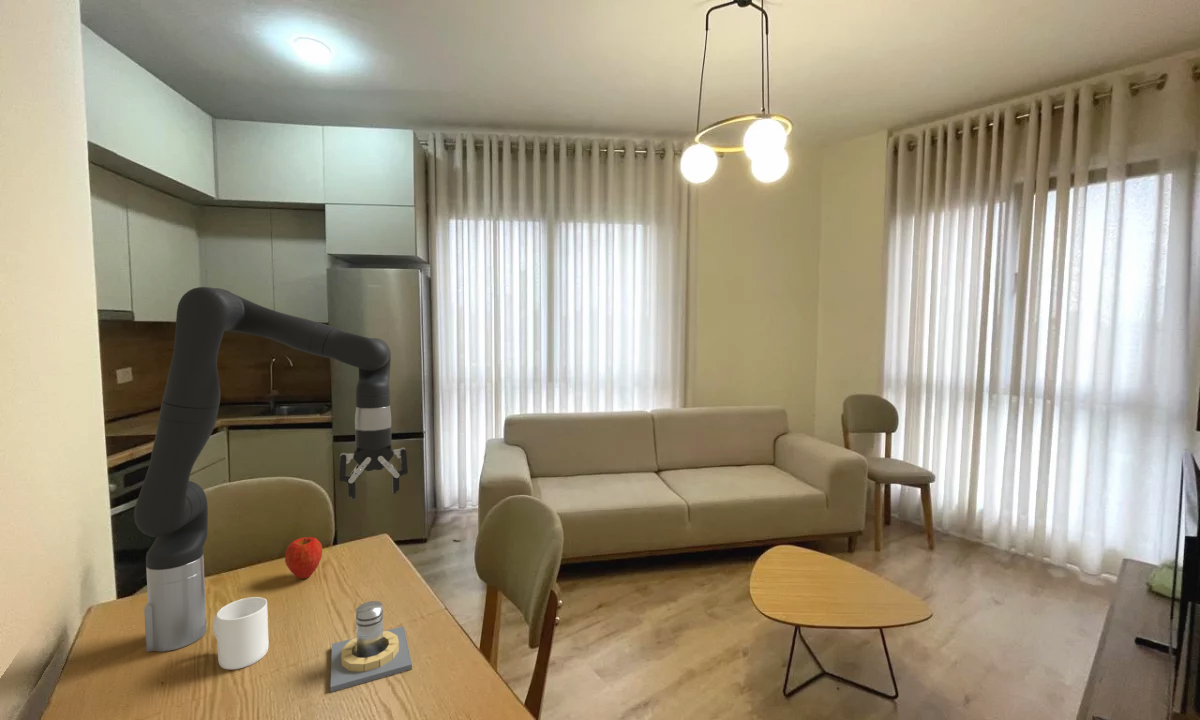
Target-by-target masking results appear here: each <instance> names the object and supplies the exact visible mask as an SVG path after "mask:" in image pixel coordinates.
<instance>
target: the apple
mask: <svg viewBox="0 0 1200 720" xmlns="http://www.w3.org/2000/svg"><path fill="white" fill-rule="evenodd" d="M284 555H285V556H284V562H285V565H286V567H287V568H288V570H289V571H290V573H292V574H293V575H294V576H295V577H296V578H297V579H300V580H303V579H308V578H310V577H311V576H312V575H313V574H314V572H315V571H316V569H317V568H318V566H319V565H320V562H321V559H322V557H323V546H322V543H321V542H320V541H319V540H318V539H317V538H316V537H313V536H307V537H300V538H297V539H296V540H293V541H292V542H291V543H289V545H288V546H287V548H286V550H285V554H284Z"/></svg>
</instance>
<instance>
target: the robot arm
mask: <svg viewBox="0 0 1200 720" xmlns="http://www.w3.org/2000/svg"><path fill="white" fill-rule="evenodd" d="M225 332H232V333H233V332H234V333H242V334H249V335H253V336H257V337H258V336H259V337H263V338H265V339H269V340H272V341H275V342H278V343H279V344H282V345H284V346H286V347H288V348H292V349H294V350H298V351H301V352H305V353H306V354H307V353H308V354H311V355H315V356H318V357H323V358H325V359H326V358H327V359H333V360H336V361H339V362H341V363H344V364H346V365H349V366H352V367H355V368H357V369H358V381H357V384H356V389H355V415H354V428H355V429H354V431H355V449H354V453H346V452H341V453H340V455H339V469H338V471H339V472H338V480H339V481H340V482H344V483H345V482H346V483H347V487H348V490H347V491H348V492H347V493H348V496H349V498H351V500H355V499H356V480H357V478H358V477H359V476H360V475H361V474H362V473H363V472H364V471H366V472H371V471H374V470H375V471H380V470H381V471H383V469H384V468H385V469H386V470H387V471H388V473H390V474H391V475H392V476H391V477H392V478H391V486H392V487H391V490H392V491H391V492H392V494H393V495H396V494H397V492H399V491H400V477H402V476H403V475H404V476H405V475H407V474H408V470H409V469H408V457H407V456H408V455H407V450H406V448H405V447H404V446H402V447H400V448H398V449H397V448H396V449H393V447H392V414H391V413H392V412H391V411H392V410H391V402H390V401H391V397H390V395H391V391H390V374H391V373H390V372H391V363H392V362H391V357H392V356H391V355H392V353H391V349H390V347H389V344H388V343H386V341H384V340H383V339H381V338H377V337H366V336H362V335H360V334H359V335H358V334H355V333H351V332H347V331H345V330H344V329H342V328H339V327H336V326H332V325H329V324H325V323H321V322H318V321H314V320H311V319H307V318H303V317H299V316H295V315H291V314H287V313H283V312H279V311H276V310H273V309H270V308H268V307H265V306H262V305H260V304H258V303H255V302H252V301H250V300H248V299H246V298H244V297H242V296H240V295H237V294H235V293H233V292H231V291H230V290H226V289H224V288H219V287H211V286H209V287H207V286H202V287H201V286H199V287H195V288H192V289H189V290H188V291H187V292H185V293H184V294H183V295H182V297H181V298H180V299H179V301H178V304H177V309H176V318H175V333H174V344H173V345H174V346H173V353H172V354H173V355H172V357H171V358H172V359H171V361H170V362H171V363H170V366H169V371H168V374H167V380H166V385H165V388H164V393H163V397H162V401H161V405H160V411H159V415H158V416H159V417H158V422H157V429H156V432H155V437H154V442H153V445H152V449H151V450H152V451H151V454H150V462H149V465H148V468H147V472H146V474H145V478H144V480H143V483H142V487H141V489H140V492H139V494H138V497H137V499H136V500H137V501H136V504H135V506H134V511H133V513H134V514H133V517H134V522H135V525H136V526H137V528H138V530H139V531H140V532H141V533H142V534H144V535H145V536H148V537H151V538H152V537H154V538H155V539H154V542H153V543H152V545H151V546H150V547H149V549H148V551H147V552H146V555H145V566H146V567H145V568H146V582H147V583H146V584H147V585H146V586H147V587H146V588H147V602H146V604H145V606H144V608H143V609H144V611H143V612H144V630H145V632H144V633H145V649H146V650H145V651H146V652H148V653H149V652H153V651H154V652H169V651H174V650H178V649H181V648H184V647H186V646H187V647H188V646H189V645H191V644H193V643H195V642H196V641H199V640H200V639H201V638H202V637H204V635H205V634H206V633H207V630H208V629H207V608H206V607H207V606H206V589H205V588H206V587H205V586H206V585H205V582H206V581H205V564H204V563H205V562H204V561H205V559H204V548H205V547H204V546H205V543H206V541H207V538H208V521H209V519H208V518H209V517H208V514H209V513H208V512H209V511H208V510H209V509H208V507H209V506H208V499H207V494H206V492H205V491H204V489H203V488H202V487H201V486H200V485H199V484H198V483H196V482H194V481H192V480H190V476H191V473H192V470H193V467H194V465H195V463H196V462H197V459H198V458H199V456H200V454H201V452H202V451H203V449H204V448H205V446H206V444H207V442H208V441H209V439H210V437H211V435H212V434H213V431H214V429H215V425H216V422H217V418H218V414H219V408H220V402H221V385H220V384H221V383H220V378H219V373H218V372H219V371H218V370H219V369H218V355H219V350H220V347H221V344H222V339H223V336H224V334H225ZM394 455H395V456H396V458H397V459H400V468H399V469H397V468H396V467H395V466H394V465H393V463H392V462H391V460H392V459H393V457H394ZM352 459H353V460H354V461H355V462H356V463H357V464H356V466H355V467H354V469H353V470H352V471H351V473H350V474H346V472H347V471H346V470H347V464H348V465H349V463H350V462H351V460H352Z"/></svg>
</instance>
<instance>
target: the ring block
mask: <svg viewBox="0 0 1200 720" xmlns="http://www.w3.org/2000/svg"><path fill="white" fill-rule="evenodd" d="M411 658H412V657H411V654H410V649H409V643H408V639H407V634H406V630H405V625H403V626H399V627H395V628H391V629H390V628H389V629H386V630H383V652H381V653H379V654H378V655H375V656H371V657H368V658H358V657H357V636H356V637H354V638H350V639H346V640H342V641H338V642H333V643H331V658H330V659H331V661H330V665H331V666H330V693H333V692H336V691H339V690H343V689H347V688H351V687H353V686H358V685H362V684H365V683H368V682H369V683H370V682H372V681H375V680H380V679H382V678H383V679H384V678H386V677H389V676H393V675H396V674H400V673H403V672H407V671H411V670H412V669H413V664H412V659H411ZM410 669H411V670H410Z"/></svg>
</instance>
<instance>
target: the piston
mask: <svg viewBox="0 0 1200 720" xmlns="http://www.w3.org/2000/svg"><path fill="white" fill-rule="evenodd" d="M383 605H384V604H383V603H382V602H381V601H379V600H378V601H377V600H372V601H366V602H363V603H362V604H360V605H358V606H357V608H356V610H355V625H356V629H355V630H356V637H357V657H358V658H368V657H371V656H375V655H378V654H379V653H381V652H383V631H384V627H383V625H384V624H383V622H384V613H383V612H384V610H383V609H384V608H383Z"/></svg>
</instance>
